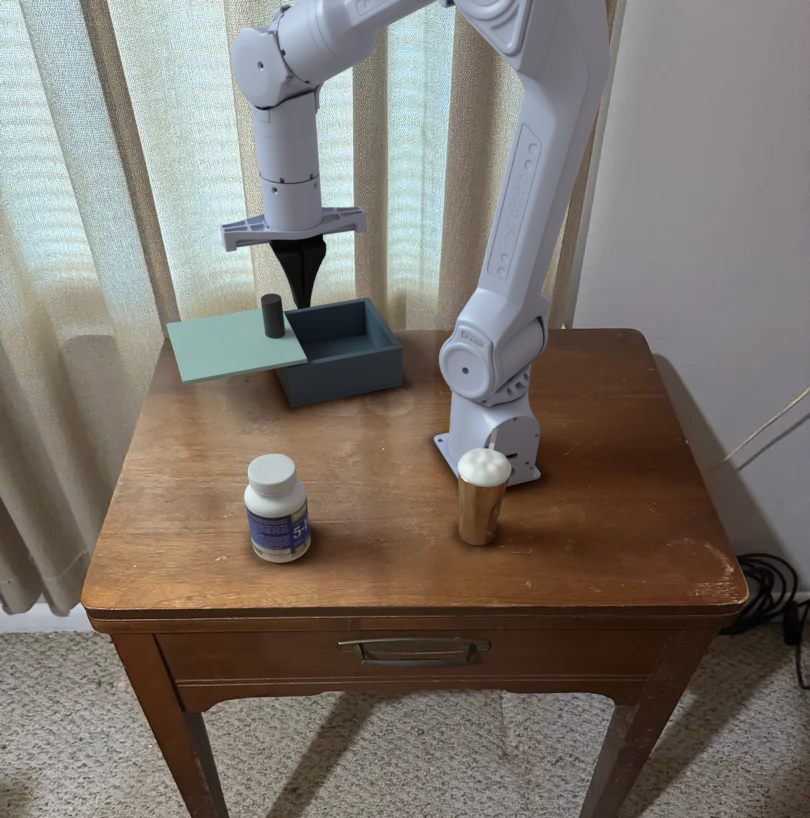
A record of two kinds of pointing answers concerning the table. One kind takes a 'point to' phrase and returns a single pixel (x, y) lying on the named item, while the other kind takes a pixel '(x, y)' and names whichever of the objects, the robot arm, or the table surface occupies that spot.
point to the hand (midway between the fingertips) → (302, 304)
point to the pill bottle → (277, 509)
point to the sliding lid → (235, 343)
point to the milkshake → (481, 492)
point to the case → (341, 352)
